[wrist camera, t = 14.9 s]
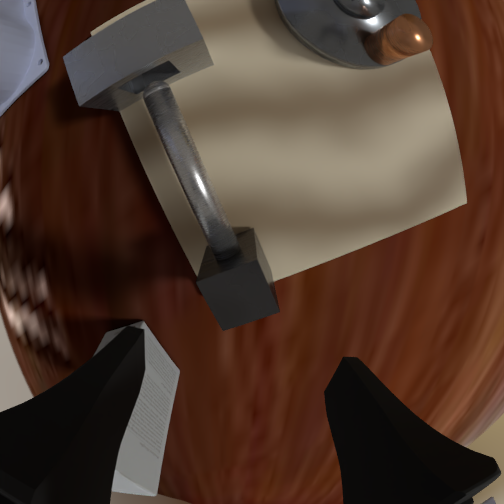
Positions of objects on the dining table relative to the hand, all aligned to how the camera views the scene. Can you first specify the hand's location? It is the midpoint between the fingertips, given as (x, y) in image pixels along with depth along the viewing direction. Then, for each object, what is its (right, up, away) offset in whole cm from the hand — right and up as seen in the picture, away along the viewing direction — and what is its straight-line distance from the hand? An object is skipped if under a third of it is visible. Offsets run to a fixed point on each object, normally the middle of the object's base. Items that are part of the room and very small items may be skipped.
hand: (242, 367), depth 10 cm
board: (+3, +13, +5) cm, 14 cm away
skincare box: (-9, -4, +12) cm, 16 cm away
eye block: (-5, +15, +4) cm, 16 cm away
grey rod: (-2, +8, +6) cm, 10 cm away
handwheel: (+6, +19, +2) cm, 20 cm away
